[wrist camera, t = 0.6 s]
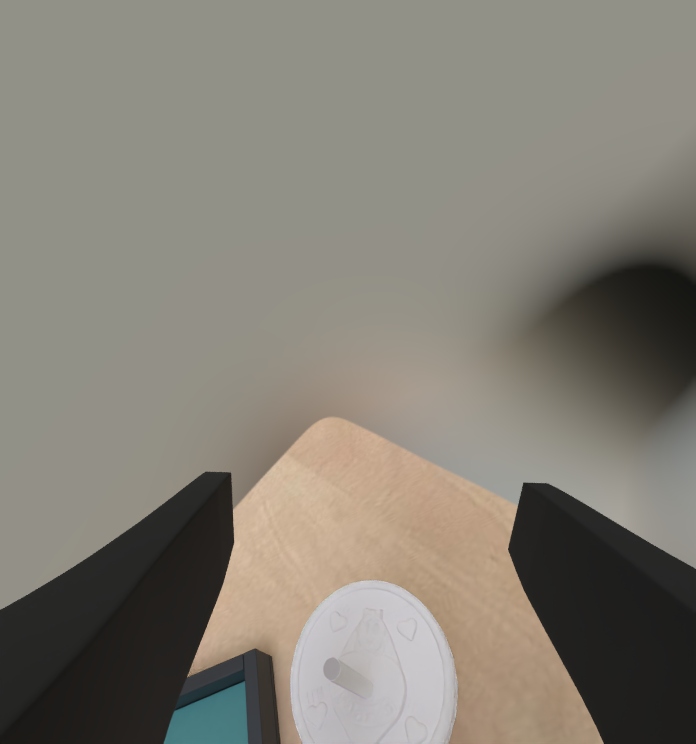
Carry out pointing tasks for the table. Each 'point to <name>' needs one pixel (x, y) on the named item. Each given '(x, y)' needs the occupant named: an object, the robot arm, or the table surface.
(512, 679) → the table surface
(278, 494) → the table surface
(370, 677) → the smoothie
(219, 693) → the holder
